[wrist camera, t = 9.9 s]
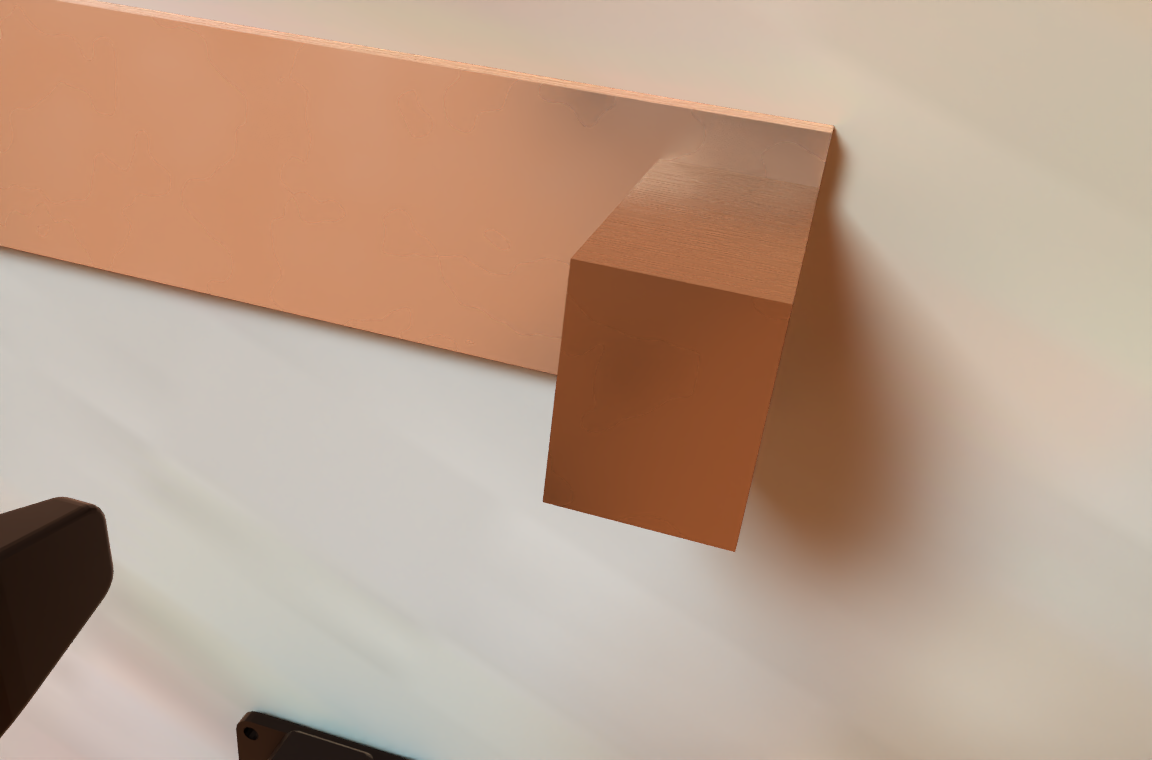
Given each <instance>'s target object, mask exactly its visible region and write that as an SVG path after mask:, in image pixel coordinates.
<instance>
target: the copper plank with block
mask: <svg viewBox="0 0 1152 760" xmlns="http://www.w3.org/2000/svg"><path fill="white" fill-rule="evenodd" d="M833 128H834V126H833V125H827V124H821V123H816V122H810V121H804V120H798V119H792V118H786V117H780V116H774V115H768V114H762V113H757V112H751V111H745V110H739V109H733V108H727V107H721V106H715V105H709V104H704V103H698V102H692V101H686V100H680V99H674V98H668V97H662V96H656V95H650V94H645V93H639V92H633V91H627V90H621V89H615V88H609V87H603V86H597V85H592V84H586V83H580V82H574V81H568V80H562V79H556V78H550V77H544V76H538V75H533V74H527V73H521V72H515V71H509V70H503V69H497V68H491V67H485V66H480V65H474V64H468V63H462V62H456V61H450V60H444V59H438V58H432V57H426V56H421V55H415V54H409V53H403V52H397V51H391V50H385V49H379V48H373V47H368V46H362V45H356V44H350V43H344V42H338V41H332V40H326V39H320V38H314V37H309V36H303V35H297V34H291V33H285V32H279V31H273V30H267V29H261V28H256V27H250V26H244V25H238V24H232V23H226V22H220V21H214V20H208V19H203V18H197V17H191V16H185V15H179V14H173V13H167V12H161V11H155V10H149V9H144V8H138V7H132V6H126V5H120V4H114V3H108V2H102V1H96V0H0V246H4V247H8V248H13V249H17V250H21V251H26V252H30V253H34V254H39V255H43V256H47V257H51V258H56V259H60V260H64V261H69V262H73V263H77V264H82V265H86V266H90V267H94V268H99V269H103V270H107V271H112V272H116V273H120V274H125V275H129V276H133V277H137V278H142V279H146V280H150V281H155V282H159V283H163V284H168V285H172V286H176V287H181V288H185V289H189V290H193V291H198V292H202V293H206V294H211V295H215V296H219V297H224V298H228V299H232V300H236V301H241V302H245V303H249V304H254V305H258V306H262V307H267V308H271V309H275V310H280V311H284V312H288V313H292V314H297V315H301V316H305V317H310V318H314V319H318V320H323V321H327V322H331V323H335V324H340V325H344V326H348V327H353V328H357V329H361V330H366V331H370V332H374V333H378V334H383V335H387V336H391V337H396V338H400V339H404V340H409V341H413V342H417V343H422V344H426V345H430V346H434V347H439V348H443V349H447V350H452V351H456V352H460V353H465V354H469V355H473V356H477V357H482V358H486V359H490V360H495V361H499V362H503V363H508V364H512V365H516V366H520V367H525V368H529V369H533V370H538V371H542V372H546V373H551V374H555V375H557V381H556V390H555V399H554V408H553V417H552V425H551V434H550V443H549V452H548V460H547V469H546V478H545V487H544V495H543V502H545V503H549V504H553V505H557V506H560V507H564V508H568V509H572V510H576V511H580V512H583V513H587V514H591V515H595V516H599V517H603V518H607V519H610V520H614V521H618V522H622V523H626V524H630V525H633V526H637V527H641V528H645V529H649V530H653V531H656V532H660V533H664V534H668V535H672V536H676V537H680V538H683V539H687V540H691V541H695V542H699V543H703V544H706V545H710V546H714V547H718V548H722V549H726V550H730V551H733V552H735V550H736V546H737V542H738V537H739V533H740V529H741V524H742V520H743V516H744V512H745V507H746V503H747V499H748V494H749V490H750V486H751V482H752V477H753V473H754V469H755V464H756V460H757V456H758V452H759V447H760V443H761V439H762V434H763V430H764V426H765V422H766V417H767V413H768V409H769V404H770V400H771V396H772V392H773V387H774V383H775V379H776V374H777V370H778V366H779V362H780V357H781V353H782V349H783V344H784V340H785V336H786V332H787V327H788V323H789V319H790V314H791V310H792V306H793V301H794V297H795V293H796V288H797V284H798V280H799V275H800V271H801V266H802V262H803V258H804V253H805V249H806V245H807V240H808V236H809V231H810V227H811V223H812V218H813V214H814V210H815V205H816V201H817V196H818V192H819V188H820V183H821V179H822V175H823V171H824V166H825V162H826V158H827V153H828V149H829V145H830V141H831V136H832V132H833Z"/></svg>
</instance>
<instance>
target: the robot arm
mask: <svg viewBox="0 0 1152 760" xmlns="http://www.w3.org/2000/svg"><path fill="white" fill-rule="evenodd" d="M113 572H114V571H113V562H112V556H111V550H110V543H109V537H108V531H107V525H106V519H105V515H104V513H103V512H102V511H101V509H100V508H99V507H97V506H96V505H93V504H90V503H87V502H83V501H79V500H76V499H72V498H68V497H56V498H52V499H49V500H46V501H42V502H39V503H36V504H32V505H29V506H26V507H22V508H19V509H16V510H12V511H9V512H6V513H3V514H0V738H1V737H2V735H3V734H4V733H5V732H6V731H7V729H8V728H9V727H10V726H11V725H12V723H13V722H14V721H15V720H16V718H17V717H18V716H19V714H20V713H21V712H22V710H23V709H24V708H25V706H26V705H27V704H28V702H29V701H30V700H31V698H32V697H33V696H34V694H35V693H36V692H37V690H38V689H39V687H40V686H41V685H42V683H43V682H44V680H45V679H46V678H47V676H48V675H49V673H50V672H51V671H52V669H53V668H54V667H55V665H56V664H57V662H58V661H59V660H60V658H61V657H62V655H63V654H64V653H65V651H66V650H67V649H68V647H69V646H70V644H71V643H72V642H73V640H74V639H75V637H76V636H77V635H78V633H79V632H80V631H81V629H82V628H83V626H84V625H85V624H86V622H87V621H88V619H89V618H90V617H91V615H92V614H93V612H94V611H95V610H96V608H97V607H98V606H99V604H100V603H101V601H102V600H103V599H104V597H105V596H106V594H107V592H108V590H109V588H110V586H111V582H112V579H113ZM236 731H237V743H238V754H239V760H408V759H405V758H401V757H398V756H395V755H392V754H389V753H385V752H382V751H379V750H376V749H373V748H370V747H366V746H363V745H360V744H357V743H354V742H351V741H347V740H344V739H341V738H338V737H335V736H332V735H328V734H325V733H322V732H319V731H316V730H313V729H309V728H306V727H303V726H300V725H297V724H294V723H290V722H287V721H284V720H281V719H278V718H274V717H271V716H268V715H265V714H262V713H259V712H253V711H251V712H247V713H246V714H245V715H244V717H243V718H242V719H241V720H240V722H239V723H238V724H237V728H236Z"/></svg>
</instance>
